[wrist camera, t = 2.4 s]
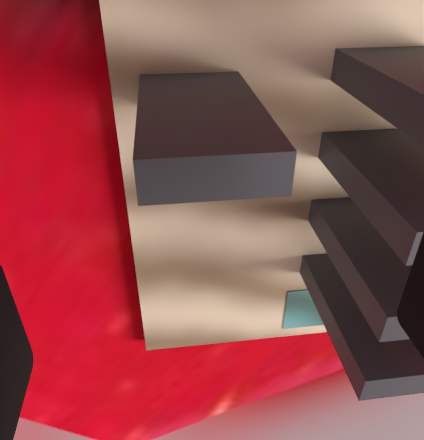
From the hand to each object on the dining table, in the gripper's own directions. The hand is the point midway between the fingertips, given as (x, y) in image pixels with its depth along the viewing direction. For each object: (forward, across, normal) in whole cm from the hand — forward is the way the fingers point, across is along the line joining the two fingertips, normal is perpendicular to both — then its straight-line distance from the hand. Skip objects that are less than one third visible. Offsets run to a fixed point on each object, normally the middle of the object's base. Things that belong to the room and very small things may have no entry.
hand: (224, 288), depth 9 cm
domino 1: (+14, -1, -1) cm, 14 cm away
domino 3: (+14, -11, +3) cm, 18 cm away
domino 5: (+14, -11, +12) cm, 22 cm away
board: (+15, -7, +6) cm, 18 cm away
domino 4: (+14, -11, +7) cm, 19 cm away
